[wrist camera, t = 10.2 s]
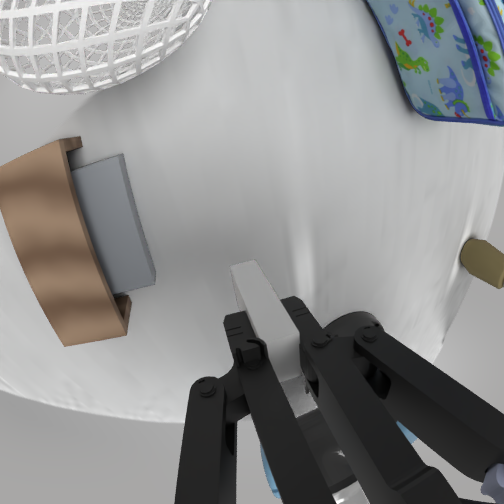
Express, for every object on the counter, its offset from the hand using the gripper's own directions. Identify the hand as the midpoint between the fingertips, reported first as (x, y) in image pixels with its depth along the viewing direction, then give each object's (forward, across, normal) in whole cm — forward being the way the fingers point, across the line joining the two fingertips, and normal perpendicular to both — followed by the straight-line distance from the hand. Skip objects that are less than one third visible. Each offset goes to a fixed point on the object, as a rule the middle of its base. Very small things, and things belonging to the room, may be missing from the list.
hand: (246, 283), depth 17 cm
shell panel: (+19, +14, 0) cm, 24 cm away
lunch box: (+19, -31, -21) cm, 42 cm away
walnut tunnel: (+18, +17, 0) cm, 25 cm away
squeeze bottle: (+19, -51, +20) cm, 58 cm away
